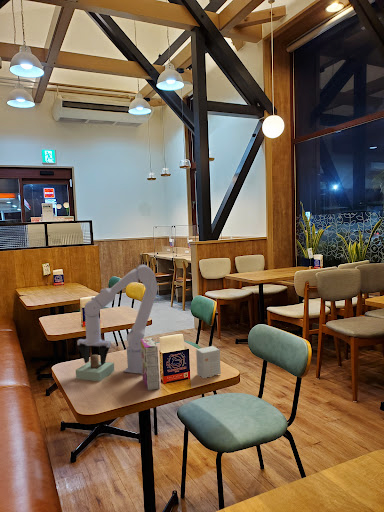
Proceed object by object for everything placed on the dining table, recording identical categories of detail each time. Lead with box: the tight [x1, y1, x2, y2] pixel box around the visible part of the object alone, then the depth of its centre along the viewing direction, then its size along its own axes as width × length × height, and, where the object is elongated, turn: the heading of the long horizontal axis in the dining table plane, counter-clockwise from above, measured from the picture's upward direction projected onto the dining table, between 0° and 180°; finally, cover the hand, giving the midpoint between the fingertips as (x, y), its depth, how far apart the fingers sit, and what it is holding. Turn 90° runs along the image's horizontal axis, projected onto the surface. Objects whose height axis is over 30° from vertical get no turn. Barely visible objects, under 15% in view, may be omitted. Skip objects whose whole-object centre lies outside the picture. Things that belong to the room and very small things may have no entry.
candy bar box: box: [140, 337, 160, 391], centre depth 143 cm, size 11×5×16 cm, turn 17°
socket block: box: [75, 360, 115, 382], centre depth 155 cm, size 11×11×4 cm
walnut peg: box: [89, 354, 100, 369], centre depth 154 cm, size 3×3×8 cm
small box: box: [195, 345, 221, 379], centre depth 150 cm, size 8×6×10 cm
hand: (95, 363), depth 154 cm, fingers open, 7 cm apart
